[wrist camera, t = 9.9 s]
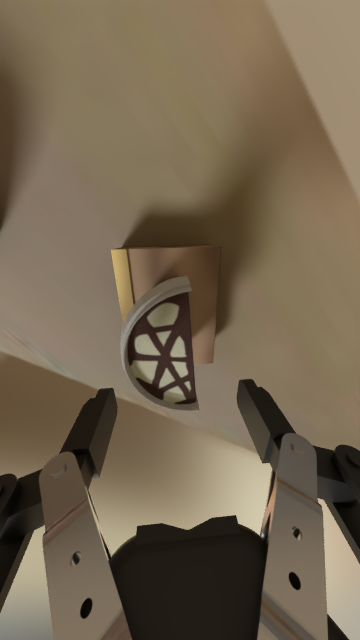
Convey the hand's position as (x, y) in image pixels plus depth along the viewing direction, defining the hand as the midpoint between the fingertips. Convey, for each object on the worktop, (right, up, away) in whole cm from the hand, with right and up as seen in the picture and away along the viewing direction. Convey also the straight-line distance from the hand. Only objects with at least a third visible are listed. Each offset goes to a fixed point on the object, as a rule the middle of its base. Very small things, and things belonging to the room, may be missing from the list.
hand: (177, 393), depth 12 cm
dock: (-1, +7, +16) cm, 18 cm away
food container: (-3, +5, +12) cm, 13 cm away
